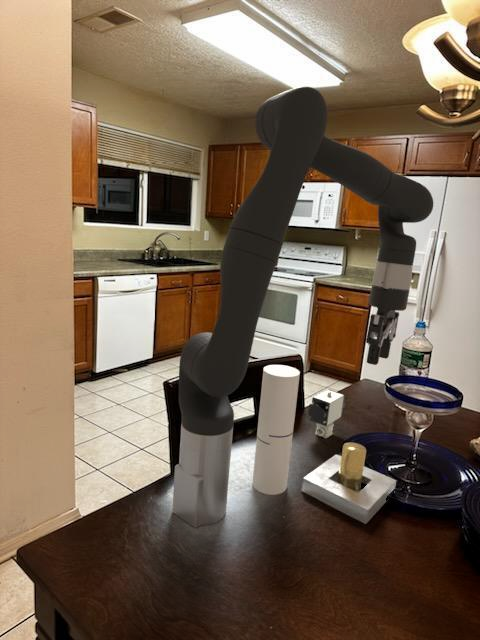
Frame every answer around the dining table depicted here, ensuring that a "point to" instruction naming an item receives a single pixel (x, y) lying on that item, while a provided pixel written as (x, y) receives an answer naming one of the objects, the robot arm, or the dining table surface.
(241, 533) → the dining table surface
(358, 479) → the tan piece
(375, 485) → the frame
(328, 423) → the pneumatic valve
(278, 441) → the cylindrical container
